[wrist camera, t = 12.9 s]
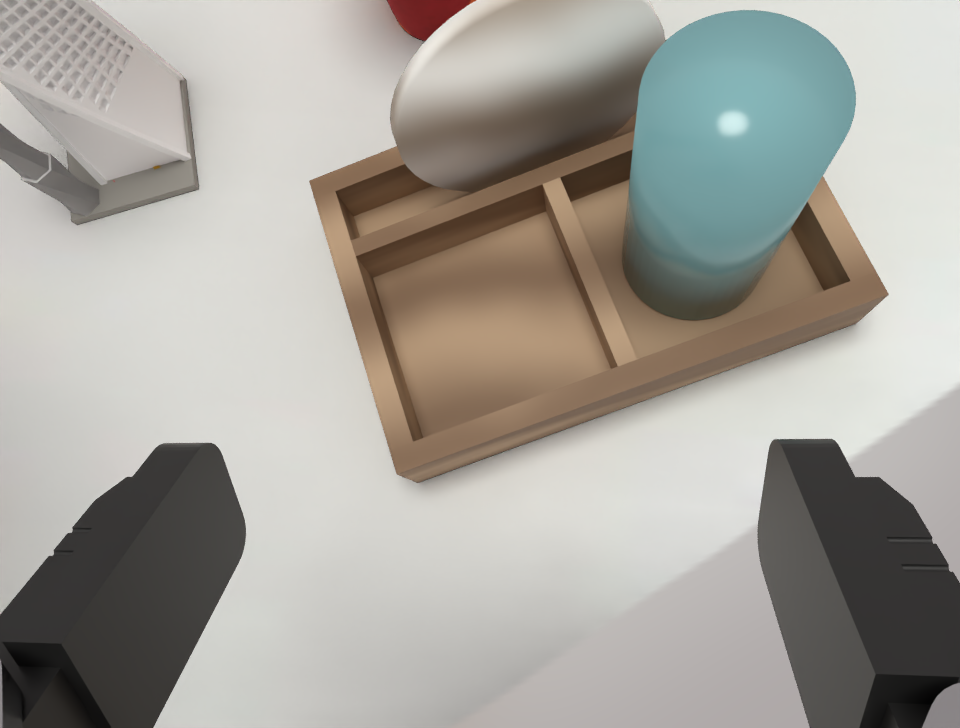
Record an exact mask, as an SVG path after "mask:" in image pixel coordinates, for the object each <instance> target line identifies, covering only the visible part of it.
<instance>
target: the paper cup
mask: <svg viewBox="0 0 960 728" xmlns="http://www.w3.org/2000/svg"><path fill="white" fill-rule="evenodd" d="M387 1H388V3H389V5H390V7H391V10H392V12H393V13H394V15H395V17H396V19H397V21H398V22H399V24H400V25H401V27H402V28H403V29H404V30H405V31H406V32H407V33H409V34H410V35H411V36H413V37H415V38H417V39H420V40H423V41H426V40H427V39H428V38H429V37H430V36H431V35H432V34H433V33H434V32H435V31H436V30H437V29H438V28H439V27H441V26H442V25H443V24H444V23H445V22H446V21H447V20H449V19H450V18H451V17H452V16H454V15H455V14H457V13H458V12H459V11H461V10H462V9H464V8H465V7H466V6H468V5H469V4H471V3H473V2H475V1H476V0H387Z"/></svg>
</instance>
